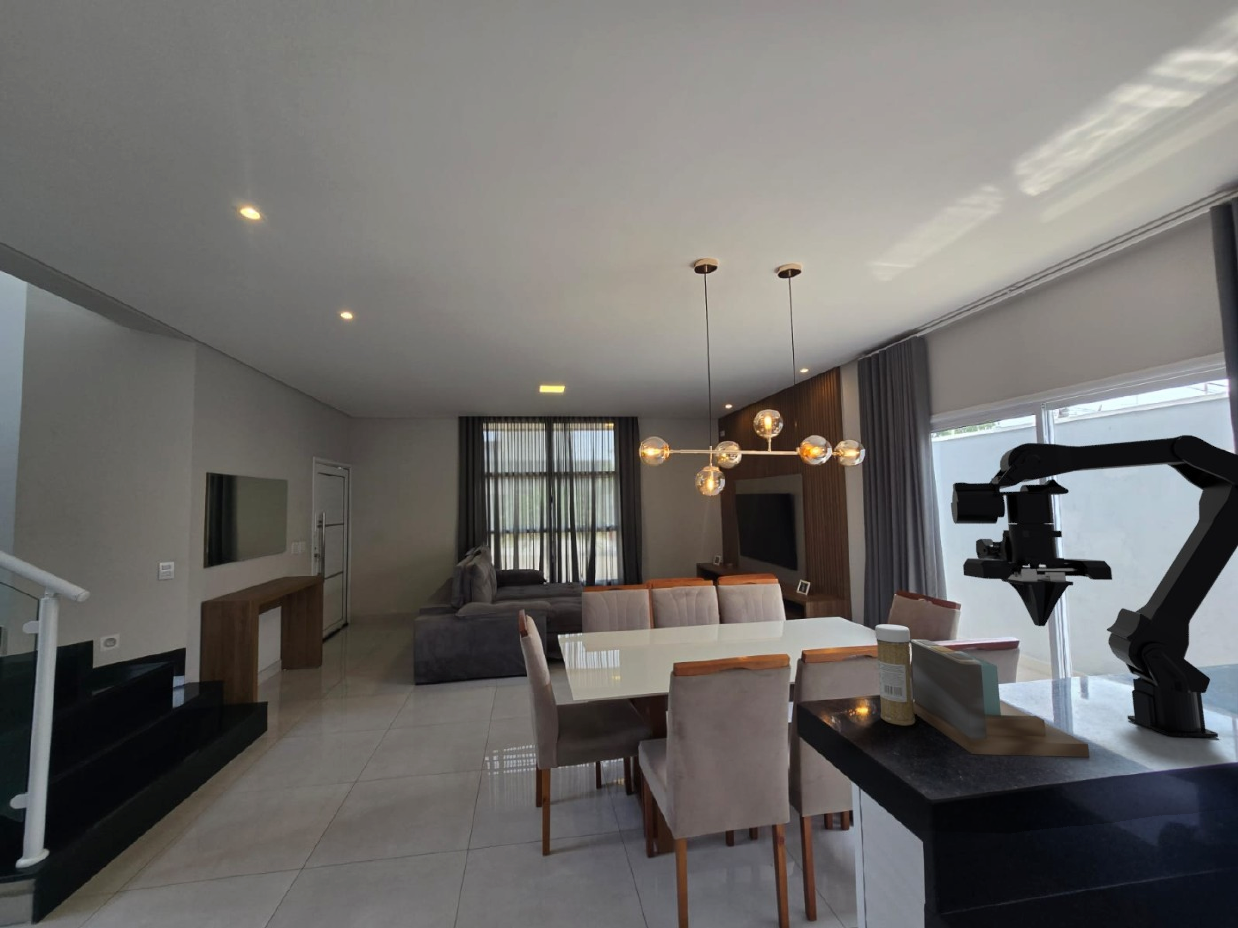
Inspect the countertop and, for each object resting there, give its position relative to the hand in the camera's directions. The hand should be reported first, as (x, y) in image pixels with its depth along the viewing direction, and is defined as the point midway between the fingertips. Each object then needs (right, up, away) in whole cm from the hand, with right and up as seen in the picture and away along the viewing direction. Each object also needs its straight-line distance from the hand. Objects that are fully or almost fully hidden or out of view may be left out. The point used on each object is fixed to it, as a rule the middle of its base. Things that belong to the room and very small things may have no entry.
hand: (1039, 625), depth 81 cm
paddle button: (-15, -11, -7) cm, 20 cm away
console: (-13, -12, -8) cm, 20 cm away
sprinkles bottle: (-24, -13, -4) cm, 28 cm away
